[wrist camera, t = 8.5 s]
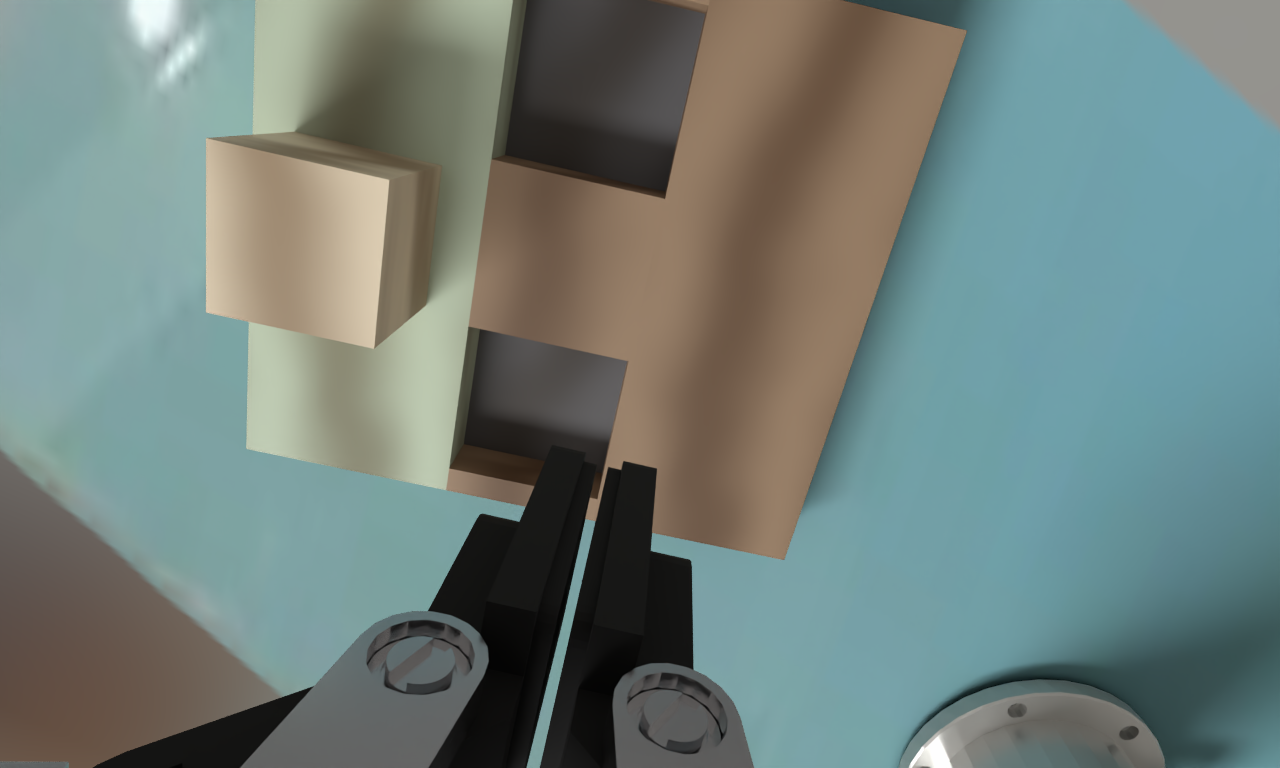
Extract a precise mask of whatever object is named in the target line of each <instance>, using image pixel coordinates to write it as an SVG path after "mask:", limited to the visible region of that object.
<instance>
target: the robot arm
mask: <svg viewBox="0 0 1280 768" xmlns="http://www.w3.org/2000/svg"><path fill="white" fill-rule="evenodd" d="M585 456H586V452H582V451H577V450H573V449H568V448H564V447H559V446H555V445H552V446H551V448H550V450H549V453H548V455H547V458H546V460H545V462H544V465H543V467H542V470H541V472H540V474H539V477H538V479H537V481H536V484H535V486H534V489H533V491H532V493H531V496H530V498H529V501H528V503H527V505H526V508H525V510H524V512H523V515H522V517H521V520H520V522H517V521H513V520H508V519H504V518H500V517H495V516H491V515H486V514H480V515H479V517H478V518H477V520H476V522H475V524H474V525H473V527H472V529H471V531H470V533H469V535H468V537H467V539H466V541H465V542H464V544H463V546H462V548H461V550H460V552H459V554H458V556H457V557H456V559H455V561H454V563H453V565H452V567H451V569H450V571H449V573H448V574H447V576H446V578H445V580H444V582H443V584H442V586H441V588H440V589H439V591H438V593H437V595H436V597H435V599H434V601H433V603H432V604H431V606H430V608H429V610H428V611H411V612H406V613H401V614H396V615H392V616H390V617H388V618H385V619H383V620H381V621H379V622H376V623H375V624H373V625H372V626H371V627H370V628H368V629H367V630H366V631H365V632H364V633H362V634H361V635H360V636H359V637H358V638H357V640H356V641H355V642H354V643H353V644H352V645H351V646H350V647H349V648H348V649H347V651H346V652H345V653H344V654H343V655H342V656H341V657H340V658H339V659H338V661H337V662H336V663H335V664H334V665H333V666H332V667H331V668H330V669H329V670H328V672H327V673H326V674H325V675H324V676H323V677H322V678H321V679H320V680H319V681H318V683H317V684H316V685H315V686H313V687H310V688H307V689H305V690H302V691H299V692H296V693H293V694H290V695H287V696H285V697H282V698H279V699H276V700H273V701H270V702H267V703H264V704H262V705H259V706H256V707H253V708H250V709H247V710H245V711H242V712H239V713H236V714H233V715H230V716H227V717H225V718H221V719H219V720H216V721H213V722H210V723H207V724H204V725H201V726H199V727H196V728H193V729H190V730H187V731H184V732H181V733H179V734H176V735H173V736H170V737H167V738H164V739H161V740H158V741H156V742H153V743H150V744H147V745H144V746H141V747H138V748H135V749H133V750H130V751H127V752H124V753H122V754H120V755H118V756H116V757H114V758H111V759H109V760H107V761H105V762H103V763H100V764H98V765H96V766H95V767H93V768H526V767H527V763H528V759H529V755H530V751H531V747H532V743H533V739H534V735H535V731H536V727H537V723H538V719H539V715H540V711H541V707H542V703H543V699H544V695H545V690H546V686H547V682H548V678H549V674H550V670H551V666H552V662H553V658H554V654H555V650H556V646H557V642H558V638H559V634H560V630H561V626H562V622H563V617H564V613H565V609H566V604H567V600H568V595H569V590H570V586H571V581H572V577H573V572H574V568H575V563H576V559H577V554H578V550H579V545H580V541H581V536H582V532H583V527H584V522H585V518H586V513H587V509H588V504H589V500H590V495H591V491H592V486H593V482H594V477H595V473H596V468H597V464H593V463H589V462H584V461H585ZM656 477H657V468H653V467H648V466H644V465H640V464H635V463H631V462H626V461H623V464H622V468H621V470H620V469H616V468H611V467H608V469H607V474H606V478H605V483H604V487H603V491H602V496H601V500H600V505H599V509H598V514H597V518H596V522H595V527H594V531H593V536H592V540H591V544H590V549H589V553H588V558H587V562H586V567H585V571H584V575H583V580H582V584H581V589H580V593H579V597H578V602H577V606H576V611H575V615H574V619H573V624H572V628H571V633H570V637H569V642H568V646H567V650H566V655H565V659H564V664H563V668H562V672H561V677H560V681H559V686H558V690H557V695H556V699H555V703H554V708H553V712H552V717H551V721H550V726H549V730H548V734H547V739H546V743H545V748H544V752H543V756H542V761H541V765H540V768H754V766H753V762H752V759H751V755H750V751H749V748H748V744H747V740H746V737H745V733H744V729H743V726H742V722H741V718H740V716H739V714H738V711H737V709H736V707H735V705H734V703H733V701H732V700H731V698H730V697H729V696H728V695H727V694H726V693H725V691H724V690H723V689H722V688H721V687H720V686H719V685H717V684H716V683H715V682H713V681H712V680H711V679H709V678H708V677H707V676H705V675H703V674H701V673H699V672H696V671H694V670H693V615H692V565H691V561H690V560H688V559H684V558H679V557H675V556H670V555H666V554H661V553H657V552H652V551H651V539H652V526H653V514H654V502H655V489H656ZM0 768H69V765H68V762H0ZM899 768H1165V758H1164V755H1163V753H1162V750H1161V748H1160V745H1159V742H1158V740H1157V739H1156V738H1155V736H1154V735H1153V733H1152V732H1151V731H1150V729H1149V728H1148V727H1147V725H1146V724H1145V722H1144V721H1143V720H1142V719H1141V718H1140V717H1139V716H1138V715H1137V714H1136V712H1135V711H1134V710H1133V709H1132V708H1131V707H1130V706H1129V705H1127V704H1126V703H1124V702H1123V701H1121V700H1119V699H1118V698H1116V697H1115V696H1113V695H1112V694H1110V693H1107V692H1105V691H1102V690H1100V689H1097V688H1094V687H1092V686H1089V685H1085V684H1080V683H1075V682H1070V681H1064V680H1042V679H1038V680H1028V681H1018V682H1011V683H1007V684H1002V685H998V686H994V687H990V688H987V689H984V690H982V691H979V692H977V693H974V694H972V695H969V696H967V697H964V698H962V699H961V700H959V701H957V702H955V703H954V704H952V705H950V706H949V707H947V708H945V709H943V710H942V711H941V712H940V713H938V714H937V715H936V716H935V717H934V718H932V719H931V720H930V721H929V722H927V723H926V724H925V725H924V726H923V727H922V728H921V730H920V731H919V732H918V733H917V734H916V736H915V737H914V738H913V739H912V740H911V741H910V743H909V745H908V747H907V749H906V751H905V753H904V754H903V756H902V758H901V761H900V765H899Z"/></svg>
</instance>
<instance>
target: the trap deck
mask: <svg viewBox="0 0 1280 768" xmlns="http://www.w3.org/2000/svg"><path fill="white" fill-rule="evenodd" d="M966 33H967V30H962V29H958V28H954V27H950V26H946V25H942V24H938V23H934V22H930V21H925V20H921V19H917V18H913V17H909V16H905V15H901V14H897V13H893V12H889V11H884V10H880V9H876V8H872V7H868V6H864V5H860V4H856V3H852V2H847V1H843V0H256V1H255V50H254V99H253V135H256V134H269V133H283V132H299V133H303V134H307V135H312V136H316V137H320V138H325V139H329V140H333V141H338V142H342V143H346V144H351V145H355V146H360V147H364V148H368V149H373V150H377V151H381V152H386V153H390V154H394V155H399V156H403V157H407V158H412V159H416V160H420V161H425V162H429V163H434V164H438V165H442V172H441V180H440V189H439V198H438V206H437V215H436V224H435V232H434V241H433V250H432V258H431V267H430V276H429V284H428V293H427V301H426V306H425V307H424V308H422V309H421V310H420V311H419V312H418V313H416V314H415V315H414V316H413V317H412V318H410V319H409V320H408V321H407V322H406V323H404V324H403V325H402V326H401V327H400V328H399V329H397V330H396V331H395V332H394V333H393V334H391V335H390V336H389V337H388V338H387V339H385V340H384V341H383V342H382V343H381V344H379V345H378V346H377V347H376V348H375V349H372V348H368V347H363V346H359V345H354V344H349V343H345V342H340V341H335V340H331V339H326V338H322V337H317V336H312V335H308V334H303V333H299V332H294V331H289V330H285V329H280V328H276V327H271V326H266V325H262V324H257V323H253V322H249V345H248V394H247V443H246V449H250V450H255V451H260V452H264V453H269V454H274V455H279V456H284V457H289V458H293V459H298V460H303V461H308V462H313V463H318V464H322V465H327V466H332V467H337V468H342V469H347V470H351V471H356V472H361V473H366V474H371V475H376V476H380V477H385V478H390V479H395V480H400V481H405V482H409V483H414V484H419V485H424V486H429V487H434V488H438V489H443V490H448V491H453V492H458V493H463V494H468V495H472V496H477V497H482V498H487V499H492V500H497V501H501V502H506V503H511V504H516V505H521V506H526V505H527V503H528V501H529V498H530V496H531V493H532V491H533V489H534V486H535V484H536V481H537V479H538V477H539V474H540V472H541V470H542V467H543V465H544V462H545V460H546V458H547V455H548V453H549V450H550V448H551V446H552V445H555V446H559V447H564V448H568V449H573V450H577V451H582V452H586V456H585V461H584V462H589V463H593V464H597V468H596V473H595V477H594V482H593V486H592V491H591V495H590V500H589V504H588V509H587V513H586V518H585V519H588V520H593V521H596V518H597V514H598V509H599V505H600V500H601V496H602V491H603V487H604V483H605V478H606V474H607V469H608V467H611V468H616V469H620V470H621V468H622V464H623V461H626V462H631V463H635V464H640V465H644V466H648V467H653V468H657V477H656V489H655V502H654V514H653V526H652V533H656V534H661V535H666V536H671V537H675V538H680V539H685V540H690V541H695V542H700V543H704V544H709V545H714V546H719V547H724V548H729V549H733V550H738V551H743V552H748V553H753V554H758V555H762V556H767V557H772V558H777V559H782V560H784V559H785V556H786V553H787V550H788V547H789V544H790V541H791V538H792V536H793V533H794V530H795V527H796V524H797V521H798V518H799V515H800V512H801V510H802V507H803V504H804V501H805V498H806V495H807V492H808V489H809V486H810V484H811V481H812V478H813V475H814V472H815V469H816V466H817V463H818V460H819V458H820V455H821V452H822V449H823V446H824V443H825V440H826V437H827V434H828V432H829V429H830V426H831V423H832V420H833V417H834V414H835V411H836V408H837V405H838V403H839V400H840V397H841V394H842V391H843V388H844V385H845V382H846V379H847V377H848V374H849V371H850V368H851V365H852V362H853V359H854V356H855V353H856V351H857V348H858V345H859V342H860V339H861V336H862V333H863V330H864V327H865V325H866V322H867V319H868V316H869V313H870V310H871V307H872V304H873V301H874V299H875V296H876V293H877V290H878V287H879V284H880V281H881V278H882V275H883V273H884V270H885V267H886V264H887V261H888V258H889V255H890V252H891V249H892V247H893V244H894V241H895V238H896V235H897V232H898V229H899V226H900V223H901V220H902V218H903V215H904V212H905V209H906V206H907V203H908V200H909V197H910V194H911V192H912V189H913V186H914V183H915V180H916V177H917V174H918V171H919V168H920V166H921V163H922V160H923V157H924V154H925V151H926V148H927V145H928V142H929V140H930V137H931V134H932V131H933V128H934V125H935V122H936V119H937V116H938V114H939V111H940V108H941V105H942V102H943V99H944V96H945V93H946V90H947V88H948V85H949V82H950V79H951V76H952V73H953V70H954V67H955V64H956V61H957V59H958V56H959V53H960V50H961V47H962V44H963V41H964V38H965V35H966Z"/></svg>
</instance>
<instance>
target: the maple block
mask: <svg viewBox="0 0 1280 768" xmlns="http://www.w3.org/2000/svg"><path fill="white" fill-rule="evenodd" d="M441 172H442V165H438V164H434V163H429V162H425V161H420V160H416V159H412V158H407V157H403V156H399V155H394V154H390V153H386V152H381V151H377V150H373V149H368V148H364V147H360V146H355V145H351V144H346V143H342V142H338V141H333V140H329V139H325V138H320V137H316V136H312V135H307V134H303V133H299V132H283V133H269V134H256V135H242V136H229V137H215V138H206V312H207V313H211V314H216V315H220V316H225V317H230V318H234V319H239V320H243V321H248V322H253V323H257V324H262V325H266V326H271V327H276V328H280V329H285V330H289V331H294V332H299V333H303V334H308V335H312V336H317V337H322V338H326V339H331V340H335V341H340V342H345V343H349V344H354V345H359V346H363V347H368V348H372V349H375V348H376V347H377V346H378V345H379V344H381V343H382V342H383V341H384V340H385V339H387V338H388V337H389V336H390V335H391V334H393V333H394V332H395V331H396V330H397V329H399V328H400V327H401V326H402V325H403V324H404V323H406V322H407V321H408V320H409V319H410V318H412V317H413V316H414V315H415V314H416V313H418V312H419V311H420V310H421V309H422V308H424V307H425V306H426V301H427V293H428V284H429V276H430V267H431V258H432V250H433V241H434V232H435V224H436V215H437V206H438V198H439V189H440V180H441Z"/></svg>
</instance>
